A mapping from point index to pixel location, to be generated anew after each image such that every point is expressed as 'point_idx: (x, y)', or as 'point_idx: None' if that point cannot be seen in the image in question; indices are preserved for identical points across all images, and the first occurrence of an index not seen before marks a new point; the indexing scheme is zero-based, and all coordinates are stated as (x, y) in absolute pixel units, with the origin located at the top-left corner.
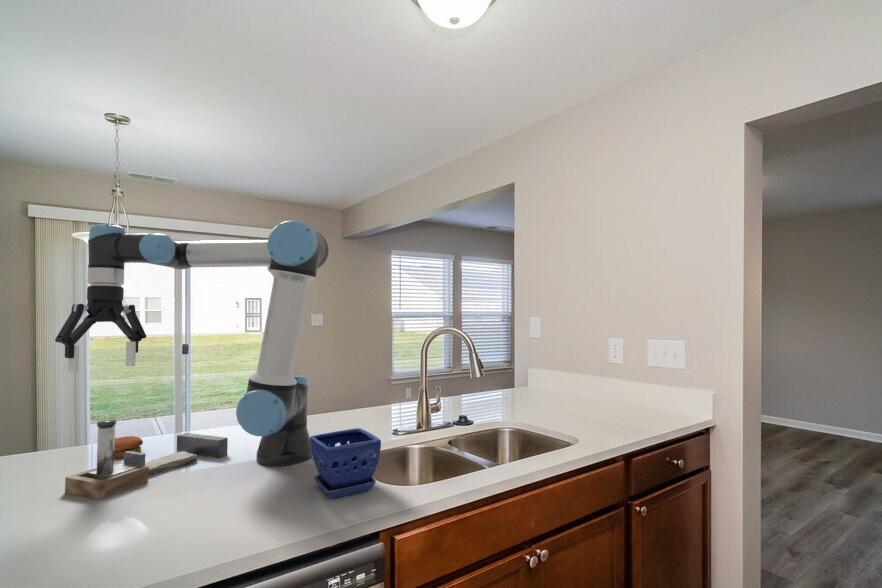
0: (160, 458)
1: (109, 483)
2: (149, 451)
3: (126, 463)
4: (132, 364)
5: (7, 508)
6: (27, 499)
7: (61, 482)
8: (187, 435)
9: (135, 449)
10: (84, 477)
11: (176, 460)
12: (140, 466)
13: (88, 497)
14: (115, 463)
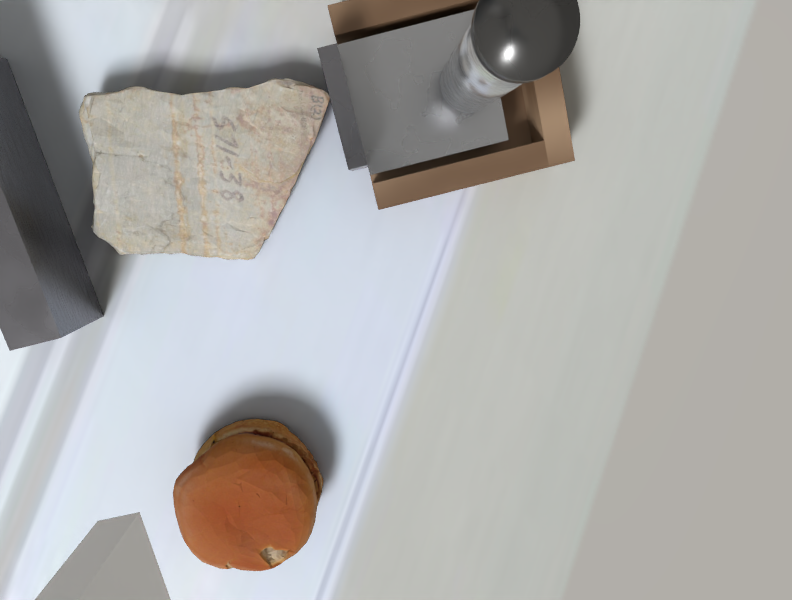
0: (197, 240)
1: None
2: (173, 431)
3: (367, 139)
4: (128, 528)
5: (702, 163)
6: (640, 204)
7: (517, 300)
8: (24, 292)
9: (223, 438)
10: (538, 90)
11: (179, 95)
12: (347, 42)
13: None
14: (392, 187)
